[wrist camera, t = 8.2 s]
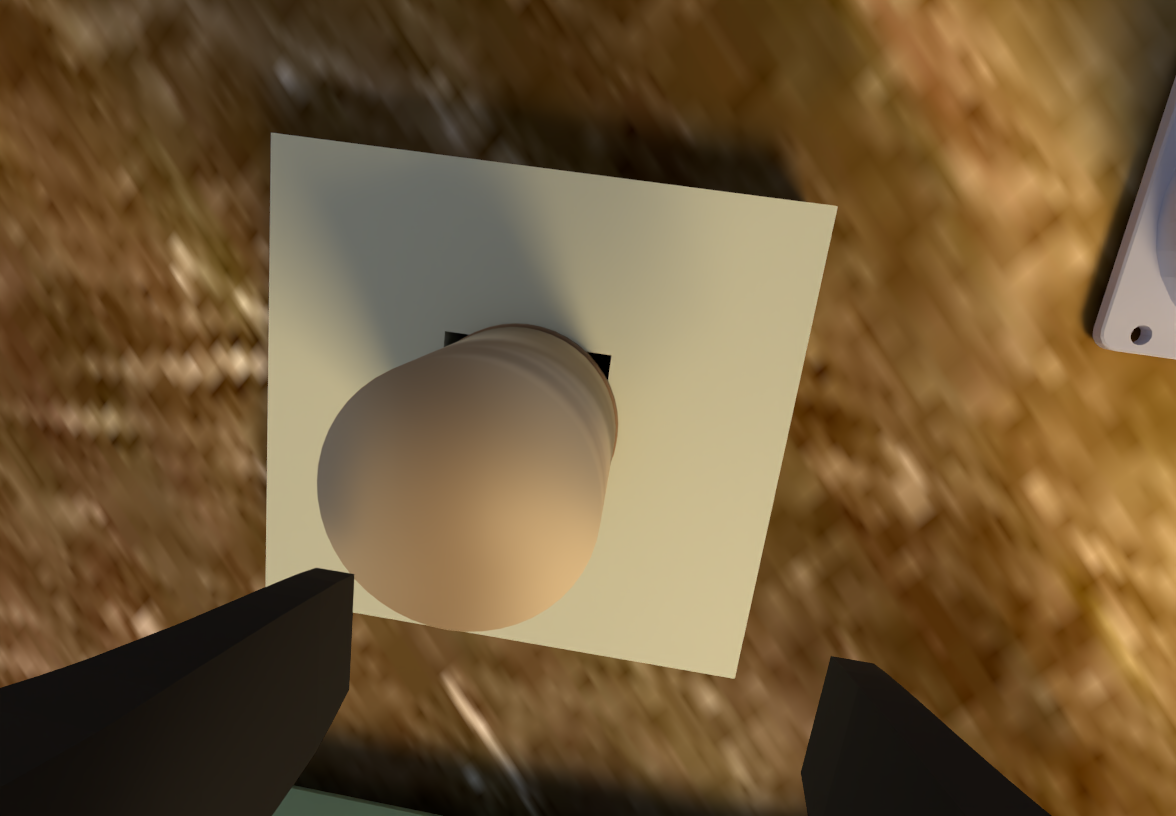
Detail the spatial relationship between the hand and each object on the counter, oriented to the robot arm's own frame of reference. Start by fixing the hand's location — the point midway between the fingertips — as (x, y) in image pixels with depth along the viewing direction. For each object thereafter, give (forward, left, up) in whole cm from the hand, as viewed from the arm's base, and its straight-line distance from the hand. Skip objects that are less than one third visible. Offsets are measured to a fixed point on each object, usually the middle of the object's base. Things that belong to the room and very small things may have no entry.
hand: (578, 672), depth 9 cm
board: (+3, -1, -10) cm, 11 cm away
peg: (+3, -1, -10) cm, 11 cm away
